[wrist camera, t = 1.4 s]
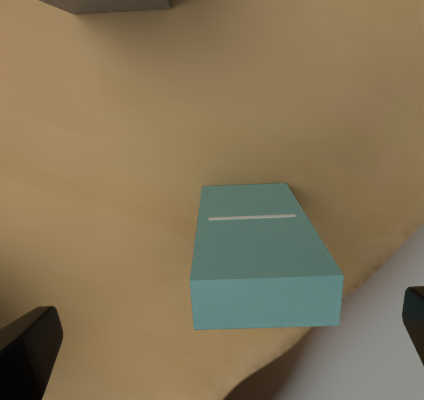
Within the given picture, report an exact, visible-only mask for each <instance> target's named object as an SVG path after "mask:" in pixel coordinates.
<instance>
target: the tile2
mask: <svg viewBox="0 0 424 400" xmlns="http://www.w3.org/2000/svg"><path fill="white" fill-rule="evenodd" d="M40 1H42V2H45V3H47V4H50V5H52V6H54V7H57V8H59V9H62V10H64V11H67V12H69V13H71V14H74V15H75V14H92V13H109V12H127V11H144V10H161V9H171V0H40Z"/></svg>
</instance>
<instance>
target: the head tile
mask: <svg viewBox="0 0 424 400" xmlns="http://www.w3.org/2000/svg"><path fill="white" fill-rule="evenodd" d="M343 280H344V275H343V273H342V271H341V270H340V268H339V267H338V265H337V263H336V262H335V260H334V259H333V257H332V256H331V254H330V252H329V251H328V249H327V248H326V246H325V244H324V243H323V241H322V240H321V238H320V236H319V235H318V233H317V232H316V230H315V228H314V227H313V225H312V224H311V222H310V221H309V219H308V217H307V216H306V214H305V213H304V211H303V209H302V208H301V206H300V205H299V203H298V201H297V200H296V198H295V197H294V195H293V193H292V192H291V190H290V189H289V187H288V186H287V184H286V183H270V184H246V185H223V186H202V192H201V199H200V207H199V215H198V222H197V230H196V237H195V245H194V253H193V260H192V268H191V275H190V289H191V301H192V313H193V325H194V330H207V329H240V328H274V327H307V326H337V325H339V321H340V311H341V301H342V291H343Z"/></svg>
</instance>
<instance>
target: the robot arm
mask: <svg viewBox="0 0 424 400" xmlns="http://www.w3.org/2000/svg"><path fill="white" fill-rule="evenodd" d="M402 318H403V323H404V325H405V327H406V329H407V331H408V333H409V336H410V338H411V340H412V342H413V344H414V346H415V348H416V351H417V353H418V355H419V356H420V359H421V361H422V363H423V365H424V286H415V287H408V288H407V289H406V291H405V296H404V304H403V311H402ZM62 339H63V329H62V326H61V322H60V319H59V315H58V312H57V309H56V308H55V307H54V306H40V307H37V308H35V309H33V310H32V311H30V312H28V313H27V314H25V315H23V316H22V317H20V318H18V319H17V320H15V321H13V322H12V323H10V324H9V325H7V326H5V327H4V328H2V329H0V400H42V398H43V395H44V393H45V390H46V387H47V384H48V381H49V378H50V375H51V372H52V369H53V366H54V363H55V361H56V358H57V355H58V352H59V349H60V346H61V343H62Z"/></svg>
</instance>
